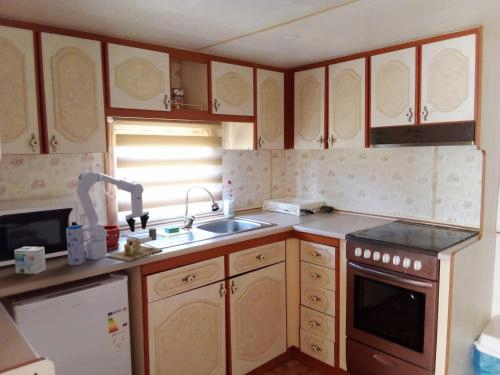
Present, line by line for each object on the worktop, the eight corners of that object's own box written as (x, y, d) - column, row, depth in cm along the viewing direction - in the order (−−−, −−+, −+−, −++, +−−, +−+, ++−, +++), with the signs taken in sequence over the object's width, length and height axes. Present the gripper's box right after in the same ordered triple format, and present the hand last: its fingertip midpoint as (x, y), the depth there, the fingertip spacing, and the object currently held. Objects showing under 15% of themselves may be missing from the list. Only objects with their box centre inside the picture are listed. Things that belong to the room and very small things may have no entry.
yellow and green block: (135, 245, 202) (135, 234, 201) (131, 244, 203) (131, 233, 203) (156, 239, 214) (156, 228, 213) (152, 239, 215) (152, 228, 215)
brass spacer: (131, 255, 198) (130, 245, 198) (124, 254, 201) (124, 244, 200) (133, 254, 200) (133, 245, 199) (127, 253, 202) (126, 243, 202)
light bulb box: (15, 273, 177) (13, 250, 176) (26, 268, 183) (24, 246, 182) (36, 274, 175) (34, 250, 174) (46, 269, 182) (44, 246, 180)
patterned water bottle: (66, 262, 192) (63, 222, 190) (83, 259, 197) (80, 219, 195) (70, 265, 186) (67, 224, 184) (87, 262, 191) (84, 222, 189)
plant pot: (95, 247, 220) (93, 226, 218) (119, 244, 224) (118, 224, 223) (95, 253, 208) (93, 230, 206) (121, 250, 212) (119, 228, 211)
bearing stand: (129, 262, 190) (128, 245, 189) (108, 257, 199) (107, 241, 198) (162, 251, 209) (161, 235, 208) (141, 247, 217) (140, 232, 216)
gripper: (131, 208, 203) (132, 233, 205) (152, 204, 215) (153, 228, 217) (122, 207, 207) (123, 232, 208) (143, 203, 219) (144, 227, 221)
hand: (138, 230), depth 213 cm, fingers open, 7 cm apart
